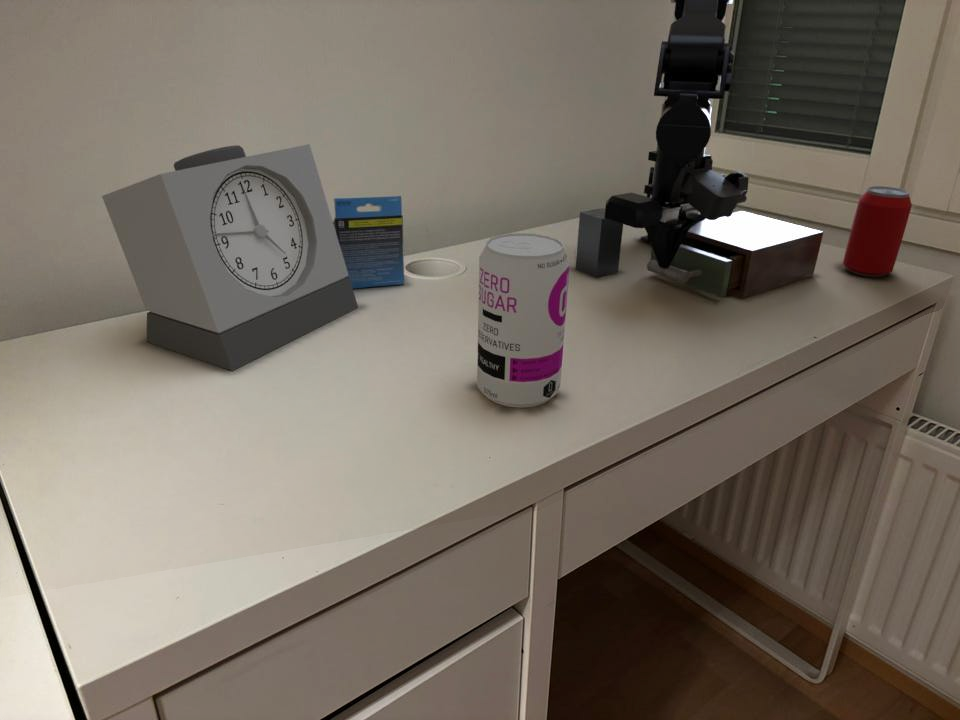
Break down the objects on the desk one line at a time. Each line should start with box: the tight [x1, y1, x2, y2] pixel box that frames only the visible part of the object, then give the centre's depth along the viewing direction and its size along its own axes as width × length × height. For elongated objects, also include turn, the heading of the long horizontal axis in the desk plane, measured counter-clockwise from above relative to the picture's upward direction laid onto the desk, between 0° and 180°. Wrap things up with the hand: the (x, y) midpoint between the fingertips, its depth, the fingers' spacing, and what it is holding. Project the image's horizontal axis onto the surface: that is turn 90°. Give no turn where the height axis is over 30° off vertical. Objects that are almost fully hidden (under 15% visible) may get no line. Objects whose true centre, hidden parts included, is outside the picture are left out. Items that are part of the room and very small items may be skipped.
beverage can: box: [842, 185, 913, 278], centre depth 102 cm, size 7×7×12 cm
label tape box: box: [332, 195, 405, 290], centre depth 94 cm, size 9×4×12 cm, turn 106°
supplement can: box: [476, 232, 571, 409], centre depth 67 cm, size 8×8×15 cm
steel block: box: [575, 207, 624, 279], centre depth 101 cm, size 4×4×8 cm
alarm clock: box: [101, 143, 359, 372], centre depth 80 cm, size 20×16×20 cm
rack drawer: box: [646, 236, 746, 298], centre depth 98 cm, size 20×12×5 cm, turn 126°
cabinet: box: [685, 210, 824, 299], centre depth 102 cm, size 17×14×7 cm
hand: (663, 267), depth 93 cm, fingers closed
